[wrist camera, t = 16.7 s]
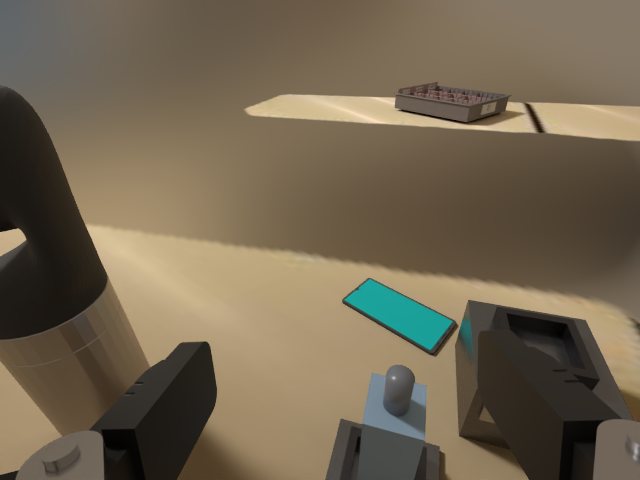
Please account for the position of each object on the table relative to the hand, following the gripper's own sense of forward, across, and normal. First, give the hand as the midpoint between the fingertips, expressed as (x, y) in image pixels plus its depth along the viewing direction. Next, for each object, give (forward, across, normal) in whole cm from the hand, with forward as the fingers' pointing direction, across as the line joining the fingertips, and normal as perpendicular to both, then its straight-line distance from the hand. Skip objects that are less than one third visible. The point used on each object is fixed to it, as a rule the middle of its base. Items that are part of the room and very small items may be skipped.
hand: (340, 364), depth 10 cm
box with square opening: (+26, -18, +21) cm, 38 cm away
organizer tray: (+161, -52, -27) cm, 172 cm away
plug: (+16, -2, +23) cm, 28 cm away
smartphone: (+38, -7, +16) cm, 42 cm away
